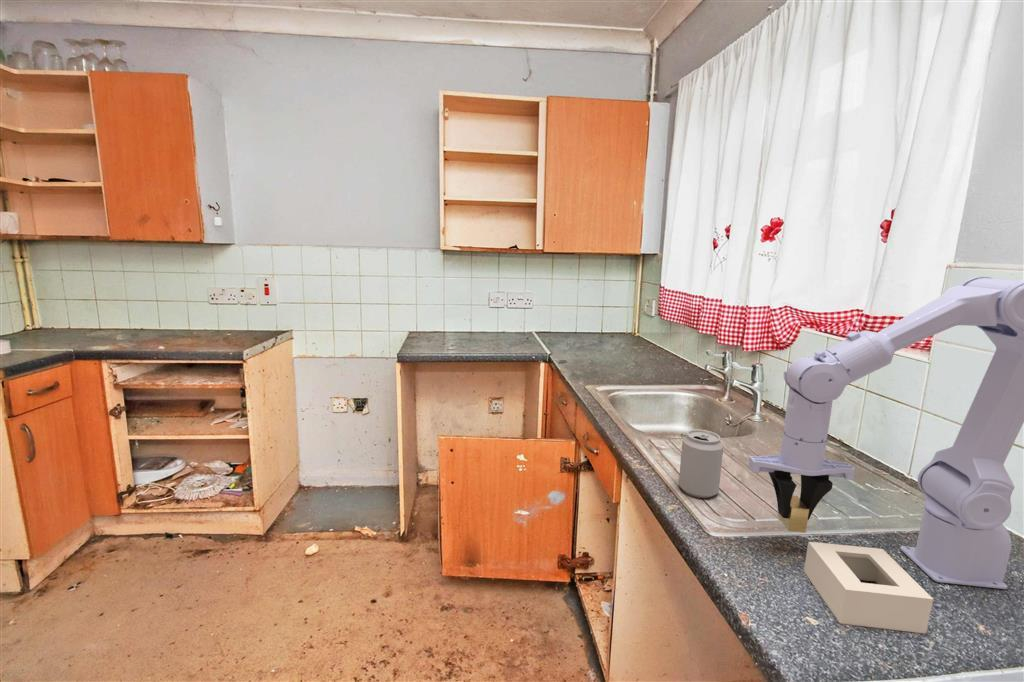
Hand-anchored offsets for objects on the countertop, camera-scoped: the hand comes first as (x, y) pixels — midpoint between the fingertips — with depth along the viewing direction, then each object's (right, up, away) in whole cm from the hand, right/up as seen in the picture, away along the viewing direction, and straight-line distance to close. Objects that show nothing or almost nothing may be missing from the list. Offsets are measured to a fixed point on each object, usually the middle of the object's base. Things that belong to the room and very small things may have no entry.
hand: (793, 515), depth 74 cm
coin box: (+3, -8, -10) cm, 13 cm away
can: (-8, -2, +19) cm, 21 cm away
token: (0, -2, 0) cm, 2 cm away
